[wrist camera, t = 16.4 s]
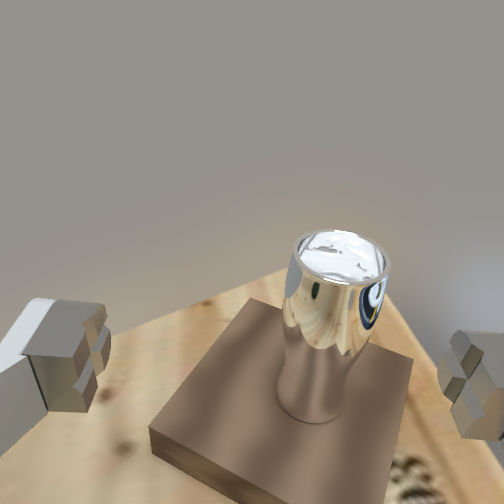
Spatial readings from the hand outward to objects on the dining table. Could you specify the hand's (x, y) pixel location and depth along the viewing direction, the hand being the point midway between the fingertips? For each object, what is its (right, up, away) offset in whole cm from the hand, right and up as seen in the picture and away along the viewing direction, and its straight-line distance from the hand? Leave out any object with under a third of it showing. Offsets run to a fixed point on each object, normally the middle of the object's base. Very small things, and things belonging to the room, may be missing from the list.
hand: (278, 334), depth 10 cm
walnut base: (+3, -14, +29) cm, 32 cm away
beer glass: (+4, -11, +26) cm, 29 cm away
